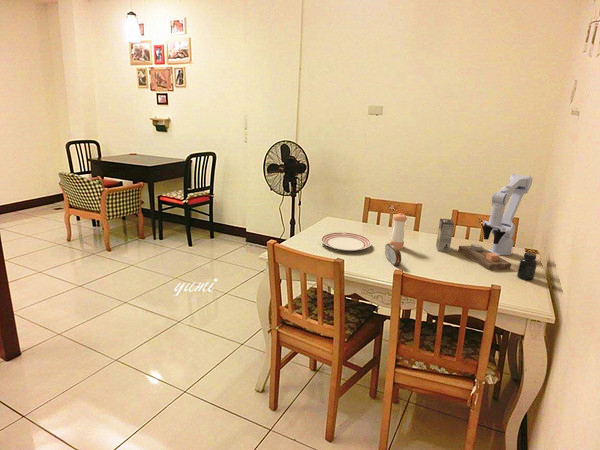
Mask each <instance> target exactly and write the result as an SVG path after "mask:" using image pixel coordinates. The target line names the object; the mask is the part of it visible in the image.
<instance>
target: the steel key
mask: <svg viewBox="0 0 600 450" xmlns="http://www.w3.org/2000/svg"><path fill="white" fill-rule="evenodd" d="M470 246H471V250H473V251H475V252H481V251H482V248H484V247H483V246H482V245H481V244H478V243H473V244H472V243H471V245H470Z"/></svg>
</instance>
